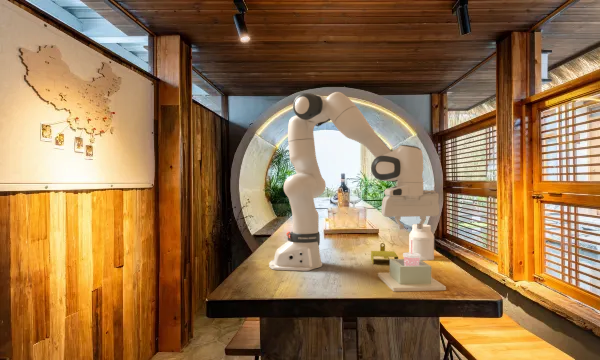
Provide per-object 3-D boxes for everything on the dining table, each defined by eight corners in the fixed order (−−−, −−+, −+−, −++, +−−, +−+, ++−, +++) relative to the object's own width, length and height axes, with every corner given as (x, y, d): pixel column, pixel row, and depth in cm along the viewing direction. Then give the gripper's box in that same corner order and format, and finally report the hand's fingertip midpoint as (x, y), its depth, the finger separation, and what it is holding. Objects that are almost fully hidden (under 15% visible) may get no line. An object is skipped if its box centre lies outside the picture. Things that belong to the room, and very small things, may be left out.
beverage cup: (401, 276, 133) (401, 238, 133) (418, 277, 133) (418, 238, 133) (404, 281, 127) (404, 241, 127) (422, 281, 126) (422, 241, 127)
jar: (407, 254, 174) (407, 223, 174) (427, 254, 174) (427, 223, 174) (414, 260, 162) (415, 227, 162) (436, 260, 162) (436, 227, 162)
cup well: (393, 291, 120) (393, 269, 120) (377, 275, 138) (377, 257, 138) (445, 290, 121) (446, 268, 121) (423, 274, 139) (423, 256, 139)
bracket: (368, 249, 151) (365, 242, 166) (368, 268, 151) (365, 259, 166) (406, 250, 150) (400, 243, 165) (406, 269, 150) (399, 260, 165)
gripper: (434, 189, 133) (434, 227, 133) (380, 190, 131) (380, 228, 132) (442, 190, 127) (442, 229, 127) (385, 191, 125) (385, 230, 125)
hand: (410, 229), depth 129 cm, fingers open, 6 cm apart
